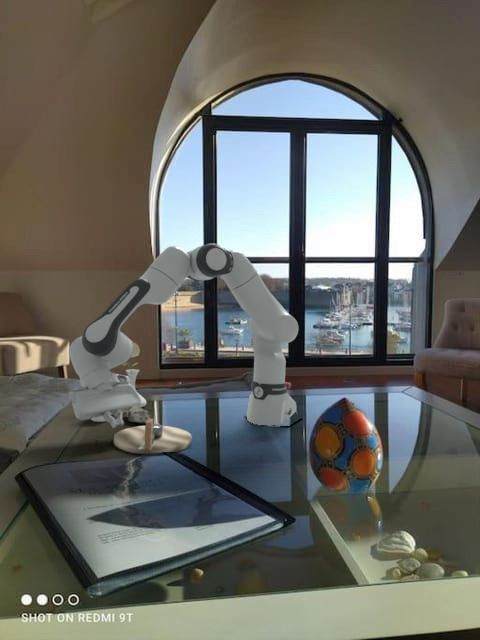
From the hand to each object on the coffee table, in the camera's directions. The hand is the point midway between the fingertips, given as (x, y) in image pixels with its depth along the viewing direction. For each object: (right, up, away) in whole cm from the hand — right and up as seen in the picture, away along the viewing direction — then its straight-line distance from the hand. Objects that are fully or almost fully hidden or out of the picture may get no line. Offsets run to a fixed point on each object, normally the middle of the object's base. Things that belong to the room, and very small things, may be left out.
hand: (118, 426), depth 125 cm
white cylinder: (-13, -4, +25) cm, 28 cm away
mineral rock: (0, -5, +26) cm, 26 cm away
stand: (+9, -6, +5) cm, 11 cm away
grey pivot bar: (+9, -4, +3) cm, 10 cm away
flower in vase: (-8, -3, +44) cm, 44 cm away
